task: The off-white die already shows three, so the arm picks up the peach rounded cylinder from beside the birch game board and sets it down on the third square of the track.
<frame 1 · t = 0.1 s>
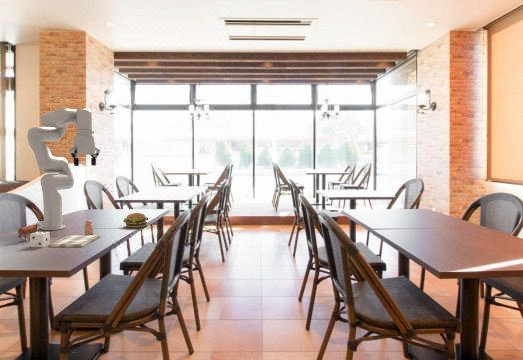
hand: (85, 165, 211), 37 cm above the table, fingers open, 9 cm apart
game board: (75, 241, 198), on the table
bull figurine: (30, 239, 203), on the table
die: (40, 245, 190), on the table
peach rounded cylinder: (89, 235, 214), on the table
food: (135, 226, 241), on the table
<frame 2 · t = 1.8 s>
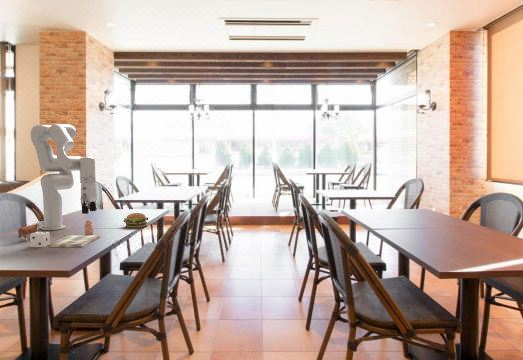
hand: (89, 212, 213), 12 cm above the table, fingers open, 9 cm apart
nothing on the table moved.
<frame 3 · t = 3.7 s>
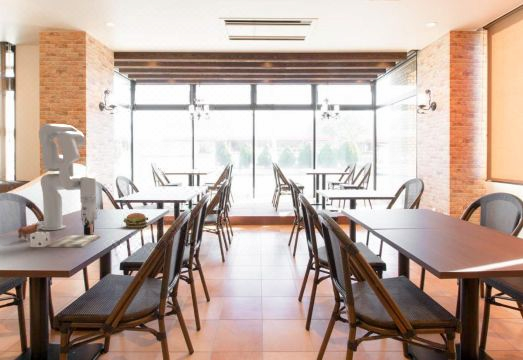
hand: (89, 233, 214), 1 cm above the table, fingers closed on peach rounded cylinder, 4 cm apart
peach rounded cylinder: (89, 235, 214), on the table, touching gripper
everything else where it was.
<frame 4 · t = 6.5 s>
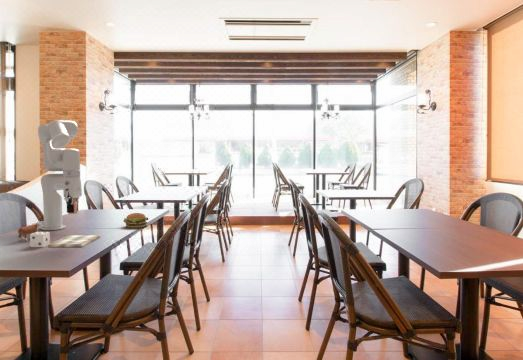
hand: (72, 211, 195), 15 cm above the table, fingers closed on peach rounded cylinder, 4 cm apart
peach rounded cylinder: (72, 213, 195), point 15 cm above the table, touching gripper
everything else where it was.
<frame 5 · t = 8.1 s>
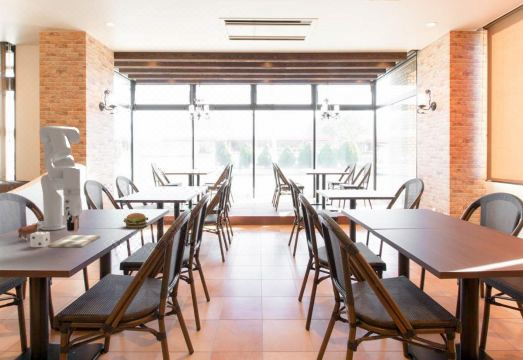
hand: (72, 229, 195), 7 cm above the table, fingers closed on peach rounded cylinder, 4 cm apart
peach rounded cylinder: (73, 231, 195), point 6 cm above the table, touching gripper
everything else where it was.
when the fingers open (3 cm above the table, at t = 9.5 s): peach rounded cylinder drops 1 cm, resting on game board.
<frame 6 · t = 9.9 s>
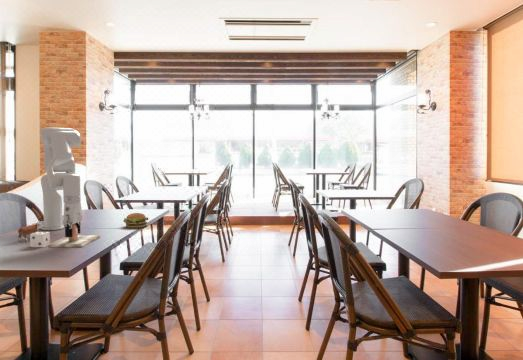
hand: (73, 235, 196), 4 cm above the table, fingers open, 8 cm apart
peach rounded cylinder: (73, 240, 196), point 1 cm above the table, touching game board
everything else where it was.
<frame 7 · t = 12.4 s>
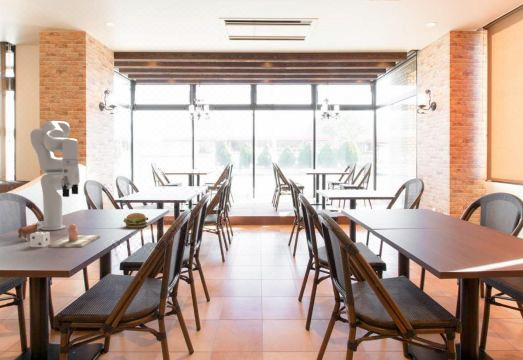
hand: (70, 195, 209), 22 cm above the table, fingers open, 9 cm apart
nothing on the table moved.
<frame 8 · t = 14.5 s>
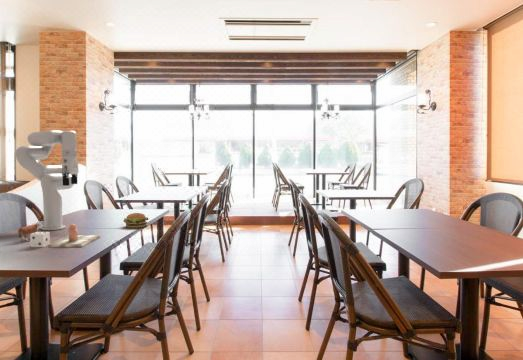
hand: (70, 184, 220), 26 cm above the table, fingers open, 9 cm apart
nothing on the table moved.
at the end: peach rounded cylinder 0.0 cm from the target spot on the game board, point 1.2 cm above the game board's base; peach rounded cylinder tilted 0°; the gripper is holding nothing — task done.
